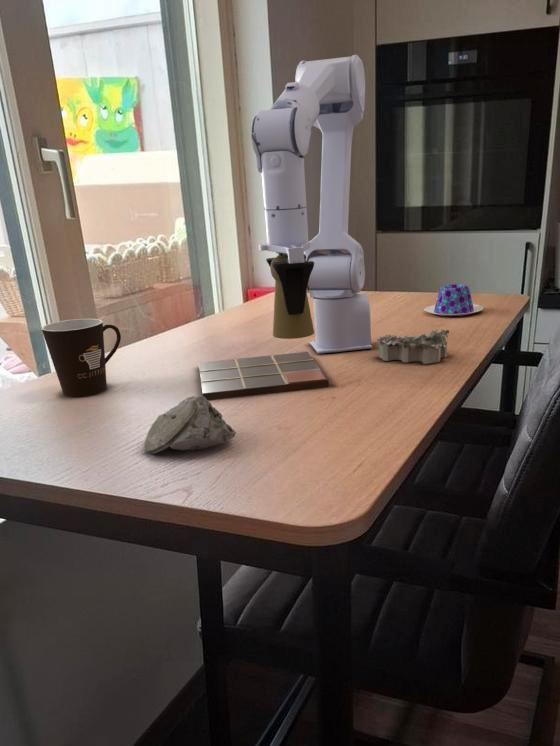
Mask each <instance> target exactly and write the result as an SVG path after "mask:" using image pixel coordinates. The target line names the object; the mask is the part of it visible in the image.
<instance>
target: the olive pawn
mask: <svg viewBox="0 0 560 746" xmlns="http://www.w3.org/2000/svg"><path fill="white" fill-rule="evenodd" d="M277 256H278V255H277ZM277 256H275V257H273V258H274V259H273V260H272V262H282V261H286V257H288V256H287V255H281V256H278V257H277ZM272 262H271V266H269V268H270V269H269V270H270V274H271V277H272V278H273V279H274V281H275V282H274V300H273V301H274V302H273V321H272V322H273V323H272V324H273V325H272V336H273V337H274V338H275V339H282V340H293V339H303V338H307V337H310V336H313V335H315V328H314V324H313V323H314V322H313V318H312V314H311V313H312V312H311V308H310V307H311V306H310V302H309V297H308V293H307V291H306V299H305V306H304V311H303V314H293V315H289V314H288V312H287V309H286V306H285V301H284V296H283V292H282V288H281V284H280V281H279V279H278V276H277V274H276V272H275V270H274V268H273V267H272ZM304 262H306V260H305V258H304Z"/></svg>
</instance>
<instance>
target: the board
mask: <svg viewBox="0 0 560 746" xmlns="http://www.w3.org/2000/svg"><path fill="white" fill-rule="evenodd" d="M198 367H199V376H200V385H201V392H202V397H205V398H206V399H207V400H208V401H209V400H218V399H219V400H220V399H226V398H227V399H228V398H236V397H246V396H254V395H265V394H273V393H283V392H291V391H301V390H310V389H311V390H312V389H319V388H329V387H330V384H329V379H328V378H327V376H326V375H325V374H324V372H323V371H322V369H321V368H320V367H319V365H318V364H317V363H316V361H315V359H314V358H313V357H312V356H311V355H310V353H309V352H308V351H302V352H291V353H281V354H280V353H279V354H270V355H261V356H252V357H250V356H249V357H242V358H241V357H240V358H236V357H235V358H230V359H222V360H211V361H201V362H198Z"/></svg>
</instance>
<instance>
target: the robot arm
mask: <svg viewBox="0 0 560 746" xmlns="http://www.w3.org/2000/svg"><path fill="white" fill-rule="evenodd" d="M294 80H295V81H293V82H287V83H286V85H285V86H284V88H285V89H284V90H283V91H282V93H281V94H280V95H279V96H278V98H276V100H275V102H274V103H273V104H272V105H271V106H270V108H269V109H262V110H261V109H260V110H259V111H258V112H257V114H256V115H254V116H253V117H252V120H251V126H250V141H251V146H252V149H253V153H254V155H255V159H256V168H257V171H258V173H260V174H261V182H262V195H263V208H264V218H265V219H264V220H265V232H266V243H262V244H258V250H259V251H263V252H264V251H267V252H272V253H275V254H278V255H277V256H276V257H278V256H281V255H287V256H288V257H286V261H282V262H272V260H273V259H274V258H275V257H269V258H268V257H267V258H266V259H265V261H266V263H267V264H268V266H269V267H270V266H271V262H272V267H273V268H274V270H275V272H276V274H277V276H278V279H279V281H280V284H281V288H282V292H283V296H284V301H285V306H286V309H287V312H288V314H289V315H293V314H303V311H304V306H305V299H306V291H307V294H309V298H312V302H313V303H312V304H313V321H314V322H313V323H314V338H315V340H312V341H310V346H311V347H312V348H313V349H314V351H316V353H317V354H329V353H330V354H331V353H339V352H348V351H359V350H369V349H372V348H373V345H372V330H371V329H372V328H371V306H370V301H369V297H368V294H367V293H361V290H362V289H363V288H364V285H365V281H366V280H365V279H366V267H365V255H364V254H365V251H364V249H363V246H362V245H361V243H360V242H358V240H356V239H355V238H354V237H352V236H351V235H350V234H349V217H350V216H349V215H350V213H349V212H350V192H351V191H350V188H351V169H352V168H351V167H352V166H351V164H352V145H353V134H354V128H355V127H356V125H358V124H359V123H361V121H363V119H364V112H365V103H366V102H365V100H366V75H365V67H364V63H363V60H362V59H361V58H360V56H359V55H358V54H352V55H351V56H344V57H334V58H326V59H318V60H317V59H316V60H309V61H307V60H301V61H300V62H299V63H298V65H297V66H296V68H295V78H294ZM312 127H315V128H317V129H319V130H320V132H321V134H322V139H321V140H322V141H321V168H320V169H321V171H320V198H319V201H320V202H319V226H318V227H319V228H318V233H317V234H316V235H315V236H314V237H313V238H312V239H311V240H309V227H308V226H309V225H308V224H309V223H308V209H307V208H308V207H307V191H306V189H307V188H306V174H305V173H306V172H305V157H304V156H306V155H308V152H309V148H310V139H311V136H312ZM304 258H305V260H306V262H304Z"/></svg>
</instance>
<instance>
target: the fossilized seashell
mask: <svg viewBox="0 0 560 746" xmlns="http://www.w3.org/2000/svg"><path fill="white" fill-rule="evenodd" d="M236 433H237V431H236V430H234V428H233V427H232V426H231V425H230V424H228V423H227V422H226V421H225V420H224V419H223V414H222V413H221V412H220V411H219V410H217V408H216V407H214V406H213V405H212V403H211V402H210V401H209V400H207V399H206V398H205V397H203V396H195V395H193V396H188V397H186V398H185V399H183V400H181V401H180V402H179V403H178V405H175V406H173V407H172V408H170V409H169V410H167V411H165V412H164V413H162V414H159V415H158V416H157V418H156V419H155V420H154V422H153V423H152V424H151V426H150V428H149V430H148V432H147V434H146V437H145V440H144V449H145V451H147V452H148V453H149V454H151V455H152V454H157V453H159V452H162V451H164V450H166V449H167V448H171V449H173V450H179V451H196V450H203V449H208V448H212V447H216V446H219V445H221V444H223V443H225V442H228V441H229V440H232V439H234V437H235V436H236Z"/></svg>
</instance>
